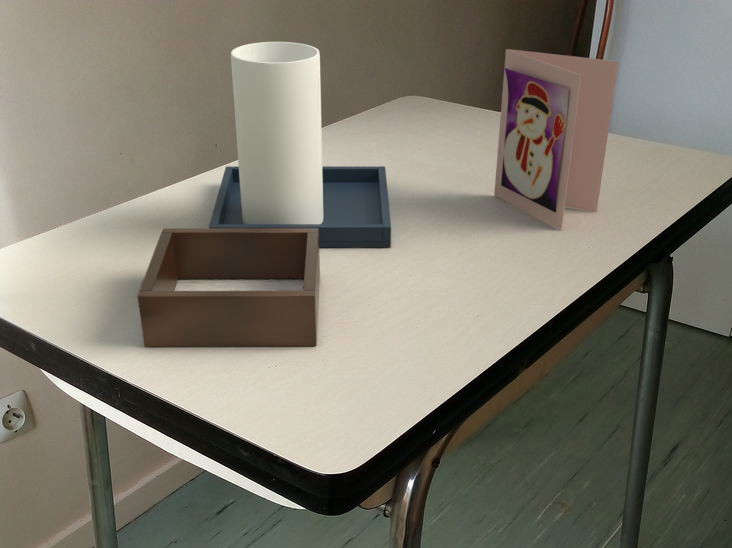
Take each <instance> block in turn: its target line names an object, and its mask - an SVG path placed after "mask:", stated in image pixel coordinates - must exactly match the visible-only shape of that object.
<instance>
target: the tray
mask: <svg viewBox="0 0 732 548" xmlns="http://www.w3.org/2000/svg"><path fill="white" fill-rule="evenodd" d="M322 176H323V222H322V223H321V224H244V223H243V220H242V206H241V192H240V178H239V165H237V166H234V165H233V166H227V165H226V166H225V169H224V172H223V176H222V179H221V182H220V186H219V189H218V193H217V197H216V200H215V203H214V207H213V211H212V215H211V218H210V221H209V224H208V228H318V229H319V249H321V248H326V249H327V248H333V249H334V248H335V249H336V248H337V249H338V248H340V249H341V248H344V249H345V248H353V249H354V248H356V249H357V248H391V247H392V222H391V212H390V203H389V191H388V182H387V171H386V166H381V165H380V166H374V165H373V166H372V165H371V166H365V165H363V166H362V165H361V166H360V165H359V166H357V165H355V166H352V165H351V166H350V165H349V166H348V165H347V166H345V165H344V166H343V165H342V166H340V165H339V166H337V165H336V166H328V165H327V166H324V165H322Z"/></svg>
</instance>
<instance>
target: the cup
mask: <svg viewBox="0 0 732 548" xmlns="http://www.w3.org/2000/svg"><path fill="white" fill-rule="evenodd" d="M230 62H231V63H230V64H231V65H230V66H231V76H232V77H231V78H232V79H231V80H232V92H233V106H234V107H233V108H234V118H235V119H234V120H235V135H236V148H237V161H238V162H237V163H238V166H239V178H240V192H241V206H242V220H243V223H244V224H321V223H322V222H323V176H322V166H323V139H322V138H323V135H322V91H321V86H322V84H321V83H322V82H321V55H320V50H319V48H317V47H314V46H313V45H309V44H305V43H301V42H293V41H291V42H290V41H263V42H262V41H261V42H255V43H247V44H243V45H240V46H237V47H235V48H233V49H232V50H231V52H230Z"/></svg>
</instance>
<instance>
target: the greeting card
mask: <svg viewBox="0 0 732 548" xmlns="http://www.w3.org/2000/svg"><path fill="white" fill-rule="evenodd" d="M618 67H619V61H618V60H609V59H608V60H607V59H599V58H591V57H582V56H573V55H563V54H554V53H546V52H538V51H527V50H520V49H519V50H518V49H508V48H506V49H505V57H504V69H503V81H502V82H503V83H502V94H501V107H500V118H499V119H500V120H499V133H498V143H497V144H498V145H497V156H496V166H495V168H496V169H495V178H494V179H495V181H494V192H493V195H494V196H495V197H497V198H498V199H500V200H502V201H505V202H506V203H509V204H510V205H512V206H514V207H515V208H518V209H520V210H522V211H524V212H526V213H528V214H530V215H531V216H532V217H534V218H537V219H539V220H541V221H542V222H545V223H546V224H548V225H550V226H552V227H554V228H556V229H559V230H560V231H562V230H563V223H564V216H565V215H564V214H565V208H571V209H578V210H583V211H589V212H595V213H596V212H598V206H599V199H600V194H601V193H600V192H601V186H602V178H603V172H604V167H605V165H604V164H605V157H606V151H607V145H608V139H609V131H610V123H611V117H612V110H613V104H614V103H613V102H614V96H615V95H614V94H615V88H616V81H617V74H618Z"/></svg>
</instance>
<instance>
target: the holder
mask: <svg viewBox="0 0 732 548" xmlns="http://www.w3.org/2000/svg"><path fill="white" fill-rule="evenodd" d="M320 259H321V258H320V248H319V229H318V228H209V227H208V228H205V227H203V228H202V227H201V228H200V227H199V228H197V227H196V228H194V227H193V228H191V227H190V228H185V227H184V228H181V227H180V228H178V227H177V228H175V227H174V228H173V227H170V228H169V227H168V228H167V227H165V228H162V231H161V232H160V235H159V238H158V240H157V243H156V246H155V248H154V251H153V254H152V256H151V259H150V261H149V264H148V267H147V269H146V272H145V275H144V277H143V280H142V283H141V285H140V288H139V291H138V294H137V296H136V297H137V304H138V310H139V311H138V312H139V319H140V324H141V332H142V338H143V345H144V347H146V348H147V347H148V348H149V347H152V348H153V347H154V348H155V347H156V348H157V347H159V348H161V347H163V348H164V347H167V348H168V347H177V348H178V347H183V348H184V347H316V346H317V345H318V327H319V325H318V323H319V305H320V304H319V303H320V302H319V301H320V300H319V299H320V281H321V280H320V279H321V263H320V261H321V260H320ZM267 279H268V280H277V279H278V280H285V279H286V280H296V279H298V280H299V279H300V280H303V285H302V290H175V289H176V286H177V284H178V280H267Z"/></svg>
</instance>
